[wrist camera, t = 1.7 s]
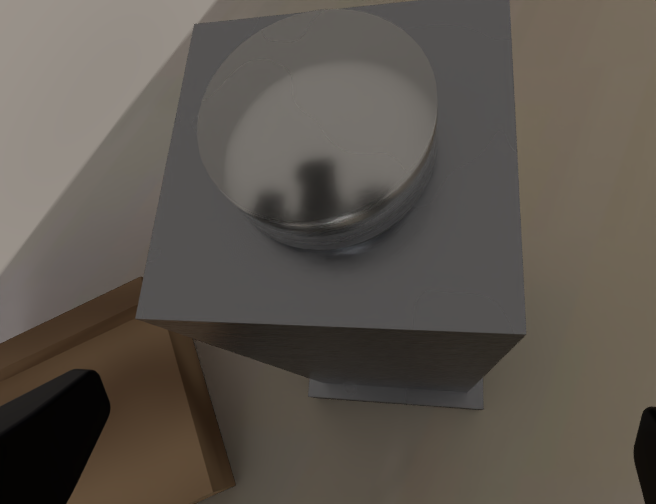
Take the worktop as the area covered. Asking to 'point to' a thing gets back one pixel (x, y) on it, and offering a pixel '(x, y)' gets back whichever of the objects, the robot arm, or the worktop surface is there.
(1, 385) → the square wooden tray
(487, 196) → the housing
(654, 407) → the robot arm
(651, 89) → the worktop surface
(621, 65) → the worktop surface
